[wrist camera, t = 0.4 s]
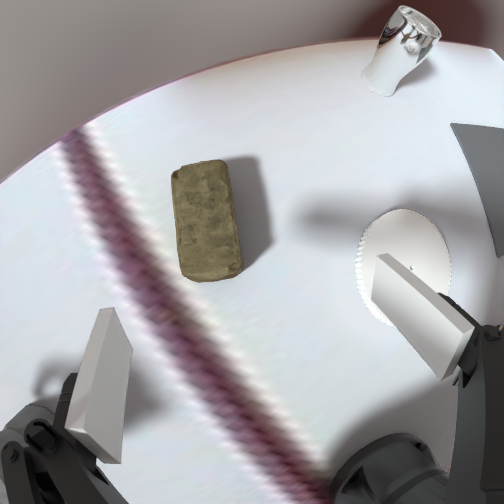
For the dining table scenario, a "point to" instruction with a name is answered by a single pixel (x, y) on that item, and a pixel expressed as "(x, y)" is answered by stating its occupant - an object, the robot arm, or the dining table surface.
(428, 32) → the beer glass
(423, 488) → the robot arm
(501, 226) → the mat
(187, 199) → the stone block
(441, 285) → the plastic lid
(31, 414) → the coffeepot
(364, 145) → the dining table surface
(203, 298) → the dining table surface
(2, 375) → the dining table surface
